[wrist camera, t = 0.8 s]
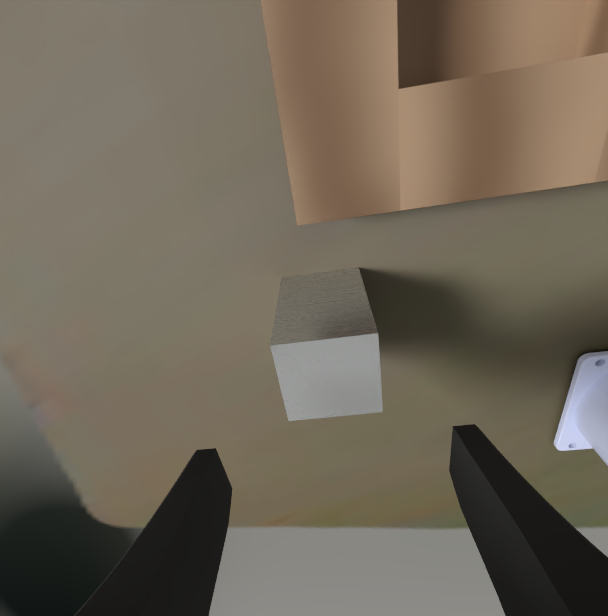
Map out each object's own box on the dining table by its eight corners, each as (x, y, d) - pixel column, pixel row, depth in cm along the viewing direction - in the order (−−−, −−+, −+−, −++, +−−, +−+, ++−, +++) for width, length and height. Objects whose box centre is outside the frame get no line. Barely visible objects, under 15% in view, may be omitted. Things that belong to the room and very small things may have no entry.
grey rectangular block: (358, 267, 18) (378, 333, 13) (363, 332, 20) (382, 411, 15) (281, 277, 18) (270, 345, 13) (294, 340, 20) (288, 421, 15)
